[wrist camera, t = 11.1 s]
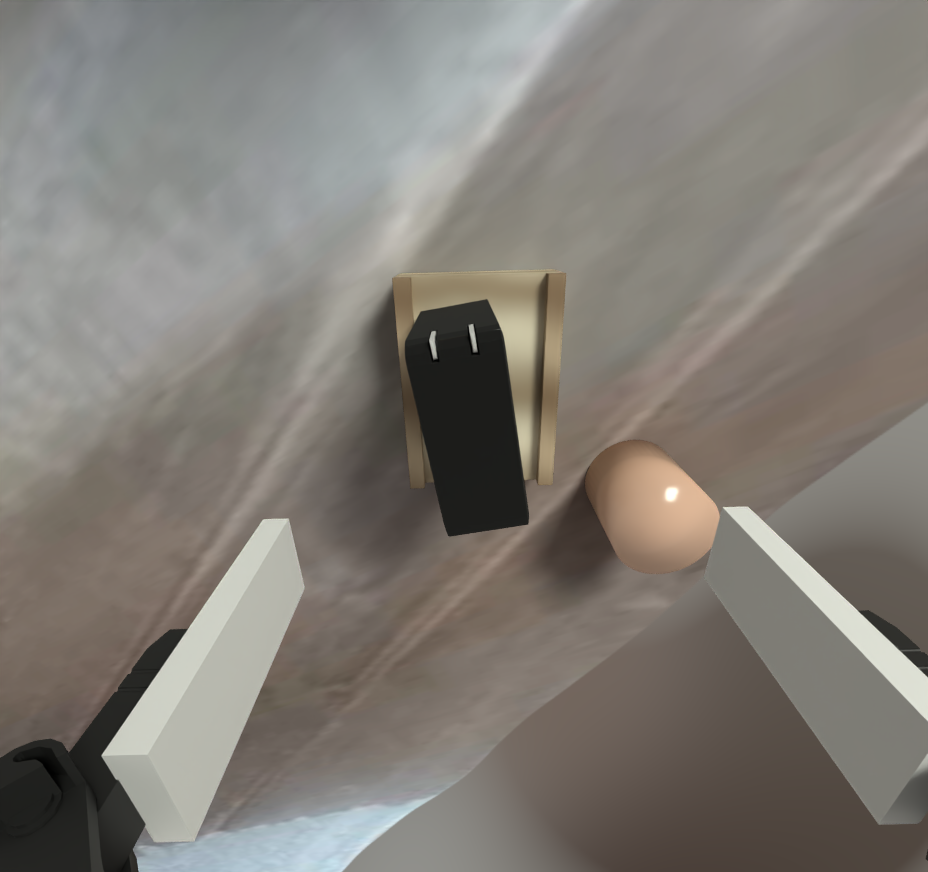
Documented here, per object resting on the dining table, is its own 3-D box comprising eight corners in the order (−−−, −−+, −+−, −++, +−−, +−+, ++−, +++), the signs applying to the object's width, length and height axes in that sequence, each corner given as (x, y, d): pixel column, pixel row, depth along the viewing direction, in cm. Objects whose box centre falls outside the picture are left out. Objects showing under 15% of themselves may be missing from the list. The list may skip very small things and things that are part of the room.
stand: (400, 273, 29) (392, 278, 25) (553, 269, 29) (566, 273, 25) (415, 463, 34) (410, 488, 31) (542, 459, 34) (552, 484, 31)
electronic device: (451, 454, 31) (447, 544, 22) (420, 309, 27) (400, 346, 18) (510, 444, 31) (531, 531, 21) (488, 296, 27) (503, 327, 17)
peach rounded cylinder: (588, 441, 34) (619, 488, 28) (679, 438, 34) (730, 485, 28) (581, 516, 37) (607, 575, 30) (665, 514, 37) (708, 572, 30)
